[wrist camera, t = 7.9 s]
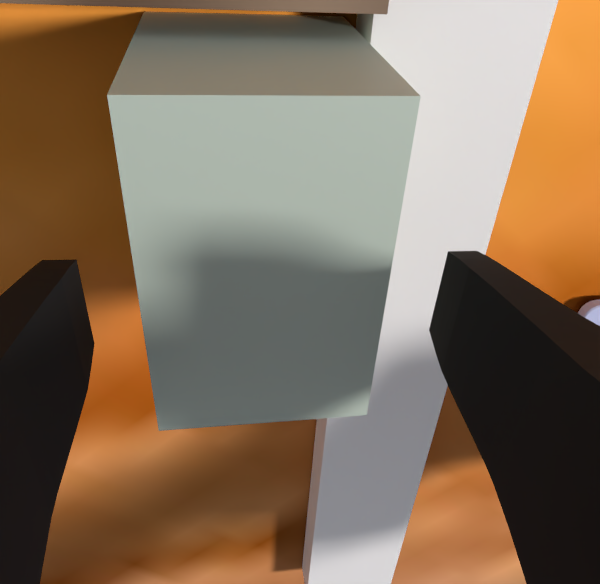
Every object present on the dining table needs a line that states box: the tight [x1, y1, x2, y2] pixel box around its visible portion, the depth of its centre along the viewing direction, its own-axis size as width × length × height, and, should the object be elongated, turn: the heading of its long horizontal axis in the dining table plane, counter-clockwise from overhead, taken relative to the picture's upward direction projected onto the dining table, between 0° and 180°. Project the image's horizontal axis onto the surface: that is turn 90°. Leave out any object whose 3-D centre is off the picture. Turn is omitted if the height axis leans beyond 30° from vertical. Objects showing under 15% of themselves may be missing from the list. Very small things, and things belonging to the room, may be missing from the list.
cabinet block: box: [107, 12, 421, 431], centre depth 13 cm, size 4×7×6 cm, turn 178°
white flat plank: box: [302, 0, 558, 584], centre depth 19 cm, size 4×28×2 cm, turn 178°
